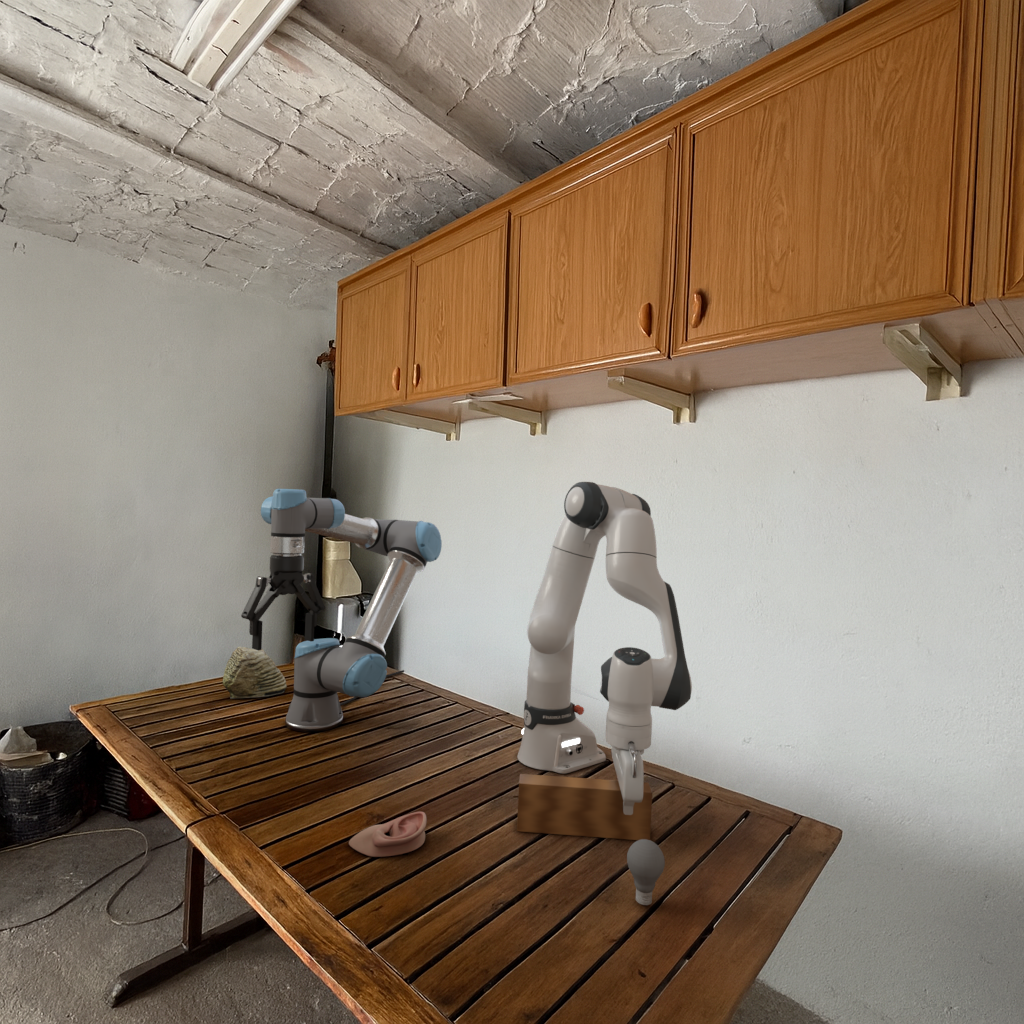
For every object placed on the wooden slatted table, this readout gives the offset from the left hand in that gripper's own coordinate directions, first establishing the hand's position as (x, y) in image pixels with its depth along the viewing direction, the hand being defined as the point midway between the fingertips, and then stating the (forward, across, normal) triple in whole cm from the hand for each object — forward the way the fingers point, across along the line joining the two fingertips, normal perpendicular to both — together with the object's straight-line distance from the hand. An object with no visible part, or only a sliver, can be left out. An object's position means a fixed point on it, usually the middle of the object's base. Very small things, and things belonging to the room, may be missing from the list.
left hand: (283, 644), depth 149 cm
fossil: (+28, +22, +51) cm, 62 cm away
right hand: (+22, +28, -76) cm, 84 cm away
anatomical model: (+28, -5, -45) cm, 53 cm away
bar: (+28, +24, -69) cm, 78 cm away
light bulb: (+28, +11, -89) cm, 94 cm away
